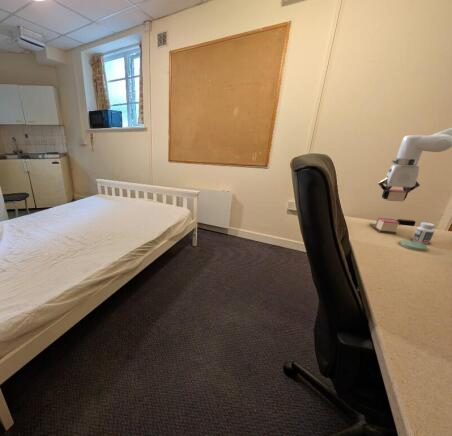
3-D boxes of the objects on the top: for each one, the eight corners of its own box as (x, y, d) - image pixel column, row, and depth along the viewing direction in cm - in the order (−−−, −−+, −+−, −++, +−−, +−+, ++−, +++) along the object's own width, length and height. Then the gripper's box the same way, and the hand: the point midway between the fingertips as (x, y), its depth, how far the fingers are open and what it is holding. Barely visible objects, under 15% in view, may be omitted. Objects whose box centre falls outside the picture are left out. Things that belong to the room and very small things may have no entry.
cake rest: (390, 228, 113) (394, 219, 112) (395, 232, 109) (399, 222, 108) (375, 227, 115) (379, 218, 114) (380, 230, 111) (383, 221, 110)
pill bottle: (430, 242, 101) (438, 224, 98) (427, 245, 98) (436, 226, 95) (413, 238, 105) (420, 220, 102) (410, 240, 102) (418, 223, 99)
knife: (409, 229, 112) (413, 220, 110) (411, 230, 110) (415, 221, 109) (374, 225, 117) (377, 217, 115) (376, 227, 115) (379, 218, 113)
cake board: (384, 226, 119) (384, 224, 118) (395, 234, 109) (396, 232, 109) (369, 224, 121) (370, 223, 121) (379, 232, 112) (380, 230, 111)
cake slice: (397, 199, 112) (401, 189, 110) (403, 201, 108) (406, 191, 106) (382, 198, 114) (385, 189, 112) (387, 200, 110) (390, 190, 108)
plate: (418, 243, 99) (419, 241, 99) (431, 252, 92) (432, 249, 92) (395, 241, 102) (396, 238, 102) (406, 249, 95) (407, 246, 95)
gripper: (387, 163, 104) (375, 199, 110) (436, 163, 98) (420, 202, 104) (378, 161, 110) (368, 196, 117) (424, 162, 105) (410, 198, 111)
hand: (393, 198), depth 110 cm, fingers closed on cake slice, 6 cm apart
